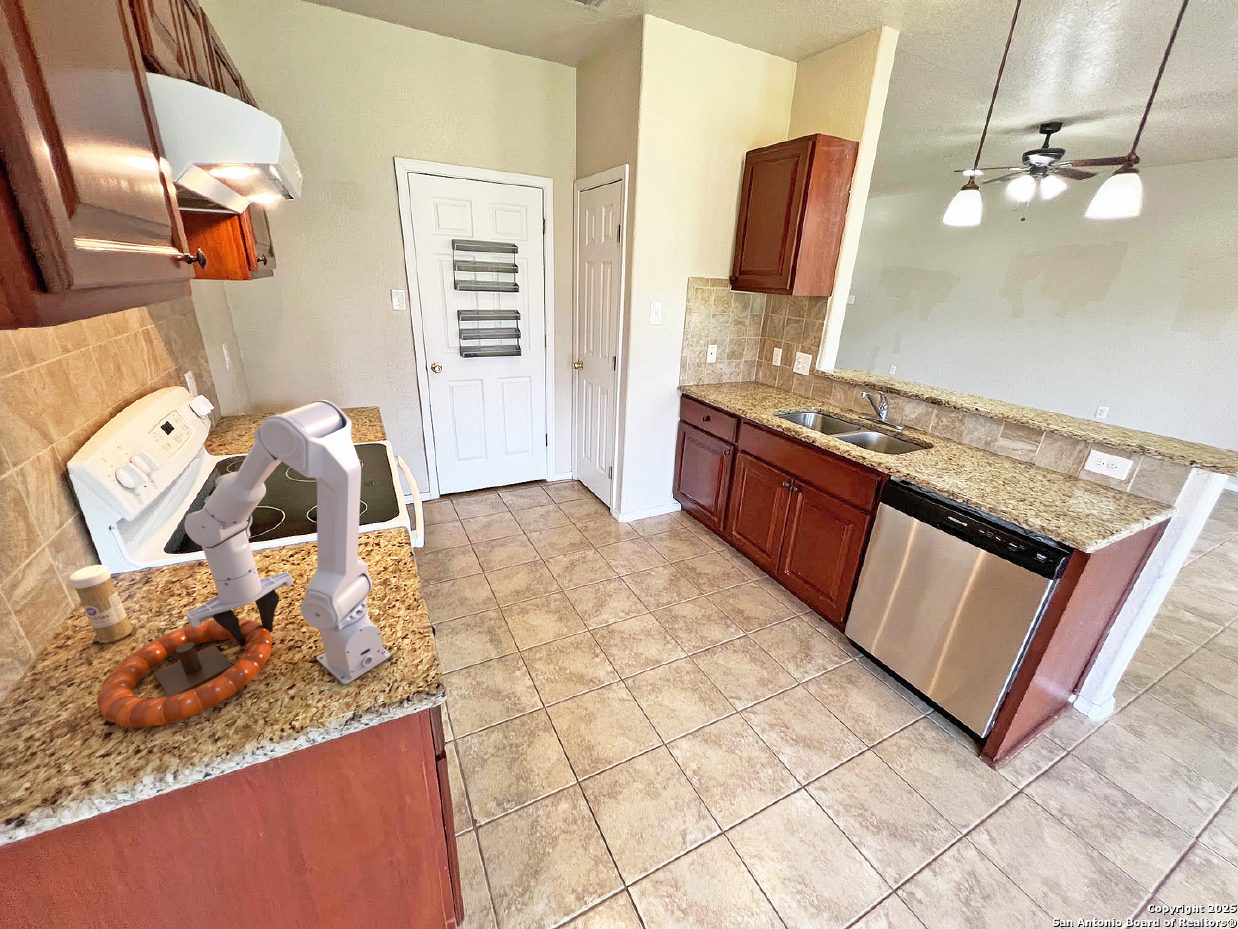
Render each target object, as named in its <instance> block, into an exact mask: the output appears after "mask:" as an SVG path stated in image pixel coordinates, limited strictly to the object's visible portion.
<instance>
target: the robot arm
mask: <svg viewBox="0 0 1238 929" xmlns="http://www.w3.org/2000/svg"><path fill="white" fill-rule="evenodd" d="M352 422H353V421H352V419H350V417H348V415H347V414H346V413H345V412H344V411H343V410H342V409H341V408H340V407H339V406H338V405H337V404H336V403H334V402H332V401H330V400H327V399H316V400H314V401H312V402H310V403H309V404H306V405H302V406H300V407H297V408H294V409H291V410H288V411H286V412H282V413H280V414H275V415H270V416H267V417H265V419H263V421H262V422H261V423H260V426H259V427H258V428H257V429H256V430H254V432H253V437H254V442H253V444H252V446H251V447H250V449H249V450H248V452H247V455H246V456H245V458H244V459H243V461H242V463H241V465H240V467H239V469H238V470H237V471H232V472H229V473H225V474H223V475H220V476H218V477H217V479H215V484H216V485H217V486H216V488H215V489H214V490H213V491H212V493H211V494H210V495H209V496H207V497H206V498H204V505H203V507H202V509H200V510H198V511H193V512H190V513H188V514H186V516H185V519H184V530H185V533H186V534H187V536H188V537H189V538H190V540H192V541H193V543H195V544H196V545H199V546H201V547H202V550H203V553H204V556H205V559H206V562H207V565H208V568H209V571H210V573H211V576H212V579H213V582H214V585H215V588H216V592H217V595H216V596H215V597H213V598H212V599H210V600H207V601H206V602H205V603H203V604H201V605H199V606H198V607H195V608H194V609H192V610H190V611H188V612H186V613H185V616H186V619H187V621H188V624H189V626H190V625H191V626H192V627H193V628H194V627H197V626H199V625H201V622H205V621H208V620H211V619H212V620H215V621H216V622H217V623H218V624H219V625H221V626H222V627H223V628H225V629H226V630H228V631H229V632H230V633H231V634H232V635H233V637H234V638H235V640H234V641H235V643H236V644H238V646H239V647H241V648H242V647H245V646H246V645H245V640H244V637H243V635H242V633H241V630H240V625H239V619H238V618H239V617H238V616H237V615H236V614H235V612H234V611H233V610H234V609H238V608H242V607H245V606H247V605H250V604H252V603H255V605H256V608H257V611H258V613H259V616H260V621H261V622H260V623H261V624H262V625H263V626H264V627H265V628H266V629H267V630H268V631H269V632H270V633H273V631H274V617H275V613H276V609H277V608H278V604H279V602H280V595H279V594H278V593H277V592H276V590H278V589H281V588H283V587H285V586H286V587H290V586H293V585H294V581H293V580H294V579H293V577H292V574H290V573H289V572H288V571H284V572H281V573H278V574H274V575H271V576H267V577H263V578H260V576H259V572H258V568H257V565H256V561H255V558H254V554H253V552H252V548H251V545H250V541H249V539H250V538H251V531H250V527H251V525H252V524H253V515H252V513H253V512H254V510H256V508H257V507H258V505H259V504H260V502H261V501H262V499H263V498H265V496H266V493H267V487H266V484H265V481H267V479H268V478H269V477H270V476H271V474H272V473H273V472H274V471H275V469H276V468H277V467H278V466H279V465H280V464H281V462H282V463H284V464H285V465H287V466H288V467H290V468H291V469H293V470H294V471H295V472H297V473H299V474H300V475H302V476H304V477H305V478H309V479H314V480H315V481H316V492H317V493H316V498H317V499H316V543H317V544H316V564H317V565H316V570H315V571H314V574H313V576H312V577H311V579H310V581H309V582H308V584H307V586H306V588H305V596H304V598H303V600H302V601H301V603H300V606H299V610H300V613H301V616H302V618H303V619H304V621H305V622H306V623H307V624H308V625H310V626H311V627H313V628H314V629H318V631H319V634H320V635H319V636H320V638H321V643H322V647H323V651H324V652H322V653H321V654H319V655H317V656H316V661H317V662H318V663H320V664H321V665H322V666H323V667H324V668H325V669H326V670H327V671H328V672H329V673H331V675H333V676H334V677H335V678H336V679H337V680H338V681H340V682H341V683H342V684H343V685H348V684H350V683H351V682H353V681H354V680H356V679H357V678H359V677H361V676H362V675H364V674H365V673H367V672H368V671H370V670H372V669H374V668H375V667H376V666H378V665H379V664H382V663H383V662H384V661H386V660H388V659H389V658H391V652H389V651H388V650H387V649H386V648H384V643H383V639H382V633H381V630H380V629H379V628H378V626H377V625H375V624H374V623H373V622H372V620H371V619H370V617H369V612H368V607H367V604H368V602H369V600H368V595H369V594H370V593H372V592H371V591H372V590H373V586H374V585H373V581H372V580H373V579H372V577H371V575H370V573H369V564H368V563H367V562H365V561H364V560H362V559H360V558H359V537H360V535H359V534H360V509H361V486H362V485H361V484H362V466H361V462H360V459H359V456H358V453H357V451H356V448H355V445H354V442H353V440H352V428H353V425H352V424H353V423H352Z"/></svg>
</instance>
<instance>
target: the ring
mask: <svg viewBox="0 0 1238 929" xmlns="http://www.w3.org/2000/svg"><path fill="white" fill-rule="evenodd" d="M238 619H239V625H240V630H241V633H242V635H243V637H244V640H245V645H244V647H245V649H244V652H243V653H242V655H241V656H240V658H238V660H237V662H234V664H232V665H233V666H232V667H230V668H229V669H228V670H226V671H225V672H224V673H223V674H221V675H220V676H218V677H216V678H214V679H212V680H211V681H209V682H207V683H205V684H203V685H201V686H199V687H197V688H195V689H192V690H189V691H186V692H183V693H179V694H176V695H173V696H170V697H168V696H165V697H156V698H142V697H139V696H135V693H134V689H135V687H136V684H137V683H138V682H139V681H140V680H141V679H142V677H143V676H144V675H146V673H147V672H148V671H150V670H151V669H152V668H154V667H155V666H157V665H158V664H160V663H161V662H163V661H165V660H167V659H168V658H170V657H171V656H175V655H176V654H177V652H176V649H177V648H178V647H179V646H180V645H182V644H185V643H189V642H192V643H194V645H195V647H196V646H199V645H203V644H207V643H209V642H215V641H226V640H233V641H236V640H235V638H234V637H233V635H232V634H231V633H230V632H229V631H228V630H226V629H225V628H223V627H222V626H221V625H219V624H218V623H217V622H216V621H215V620H214V619H208V620H205V621H203V622H201V625H199V626H197V627H194V628H193V627H192V626H191V625H190V624H189V625H186V626H183V627H181V628H178V629H176V630H173V631H171V632H169V633H167V634H164V635H162V636H160V637H158V638H155V639H153V640H152V641H150V642H148V643H147V644H145V645H144V646H142V647H141V648H139V649H137V650H136V651H134V652H133V653H131V654H130V655H128V656H127V657H126V658H125V659H123V660H122V661H121V662H120V663H119V664H118V665H117V666H116V667H115V668H114V669H113V670H112V671H111V672H109V674H108V675H107V676H106V677H105V679H104V680H103V683H102V686H101V689H100V690H99V693H98V695H97V698H96V704H97V707H98V708H99V710H100V712H101V714H102V716H103V718H104V720H106V721H107V722H109V723H113V724H117V725H119V726H124V727H127V728H131V729H133V728H134V729H135V728H145V727H151V726H152V727H154V726H163V725H168V724H172V723H175V722H177V721H180V720H183V719H186V718H190V717H192V716H195V715H198V714H201V713H203V712H206V711H207V710H209V709H210V708H213V707H214V706H216V705H218V704H220V703H222V702H223V701H225V700H227V699H229V698H230V697H232V696H234V695H235V694H236V693H238V692H239V691H240V690H241V689H243V688H244V687H245V686H246V685H247V684H249V683H250V682H251V681H252V680H253V679H254V678H256V677H257V676H258V675H259V673H260V672H261V670H262V669H263V667H264V666H265V664H266V663H267V661H268V660H269V658H270V657H271V655H272V648H273V647H272V646H273V635H272V634H271V633H272V632H271V633H270V632H269V631H268V630H267V629H266V628H265V627H264V626H263V625H262V623H261V622H259V621H256V620H252V619H247V618H241V617H238Z"/></svg>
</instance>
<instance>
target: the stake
mask: <svg viewBox="0 0 1238 929" xmlns="http://www.w3.org/2000/svg"><path fill="white" fill-rule="evenodd" d="M176 652H177V653H176V654H177V657H178V659H179V660H178V661H176V662H174V663H172V664H170V665H168V666H165V667H163V668H161V669H159V670H157V671H156V672H155V671H154V672H153V675H154V678H155V680H156V681H157V682H158V684H159V685H160V687H161V688H162V690H163V691H164V693H165V694H166V697H170V696H173V695H176V694H179V693H183V692H186V691H189V690H192V689H195V688H197V687H199V686H201V685H203V684H205V683H207V682H209V681H211V680H212V679H214V678H216V677H218V676H220V675H221V674H223V673H224V672H225V671H226V670H228V669H229V668H230V667H232V666H233V665H234V664H232V663H231V662H230V661H229V660H228V659H227V657H226V656H225V655H224V654H223V653H222V651H221V650H220V649H219V648H218V647H217V646H216V645H215V644H211V645H210V646H208V647H205V648H204V649H201V650H199V651H197V649H196V646H195V645H194V643H192V642H189V643H185V644H182V645H180V646H179V647H178V648H177V649H176Z"/></svg>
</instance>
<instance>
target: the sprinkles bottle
mask: <svg viewBox="0 0 1238 929" xmlns="http://www.w3.org/2000/svg"><path fill="white" fill-rule="evenodd" d="M68 580H69V582H70V584H71V586H72V588H74V590H75V591H76V593H77V595H78V598H79V600H80V602H81V604H82V606H83V608H84V611H85V615H86V617H87V619H88V622H89V624H90V626H91V627H92V629H93V631H94V633H95V635H96V641H98V642H99V643H101V644H109V643H113V642H117V641H119V640H121V639H123V638H125V637H127V636H129V634H130V633H131V632H133V629H134V628H133V626H132V625H131V622H130V620H129V618H128V616H127V612H126V610H125V608H124V605H123V603H122V601H121V598H120V596H119V593H118V591H117V589H116V587H115V585H114V582H113V581H112V575H111V572H110V570H109V567H108V566H107V565H104V564H95V565H89V566H86V567H83V568H80V569H78V570H76V571H74V572H72V573H71V574H70V575H69V577H68Z"/></svg>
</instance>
